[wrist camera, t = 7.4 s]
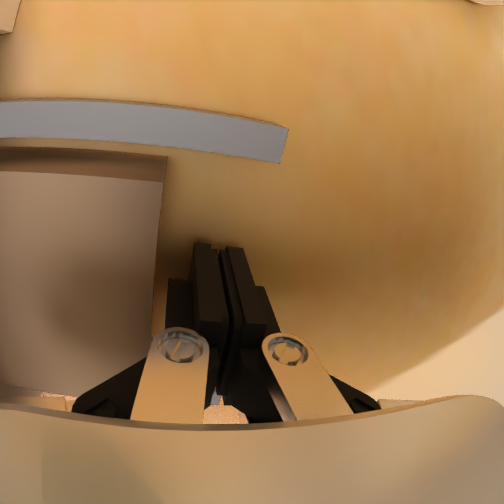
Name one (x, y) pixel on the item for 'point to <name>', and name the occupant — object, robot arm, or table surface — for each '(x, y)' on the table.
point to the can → (489, 2)
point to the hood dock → (133, 131)
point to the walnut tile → (76, 264)
